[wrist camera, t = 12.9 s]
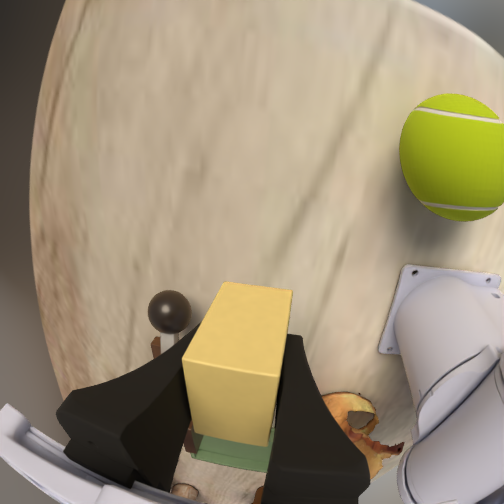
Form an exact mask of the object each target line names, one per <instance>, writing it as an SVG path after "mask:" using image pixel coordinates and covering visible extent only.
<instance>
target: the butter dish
mask: <svg viewBox="0 0 504 504" xmlns="http://www.w3.org/2000/svg"><path fill="white" fill-rule="evenodd" d="M274 430H275V428H271V433H270V438H269V443H268V446H267V447H263V446H257V445H251V444H245V443H239V442H234V441H229V440H224V439H219V438H215V437H211V436H206V435H204V436H203V439H202V442H201V444H200V447H199V450H198V452H197V454H194V453H190V454H191V457H192V458H194V459H198V460H202V461H206V462H210V463H215V464H219V465H224V466H229V467H234V468H239V469H245V470H251V471H257V472H264V473H267V469H268V464H269V459H270V454H271V449H272V444H273V438H274Z"/></svg>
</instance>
